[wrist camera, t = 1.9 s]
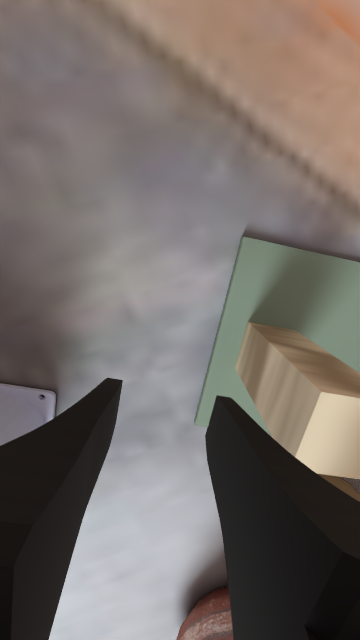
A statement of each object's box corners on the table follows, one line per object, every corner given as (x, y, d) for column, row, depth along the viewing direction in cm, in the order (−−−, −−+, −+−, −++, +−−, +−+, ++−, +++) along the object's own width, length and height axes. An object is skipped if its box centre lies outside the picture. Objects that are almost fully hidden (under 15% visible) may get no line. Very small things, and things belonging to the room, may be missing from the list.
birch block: (234, 367, 21) (290, 470, 11) (247, 321, 20) (321, 391, 10) (280, 375, 21) (371, 480, 12) (296, 330, 20) (409, 406, 11)
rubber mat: (194, 420, 23) (194, 425, 22) (241, 236, 19) (243, 236, 18) (394, 450, 25) (400, 455, 24) (478, 289, 21) (487, 291, 20)
